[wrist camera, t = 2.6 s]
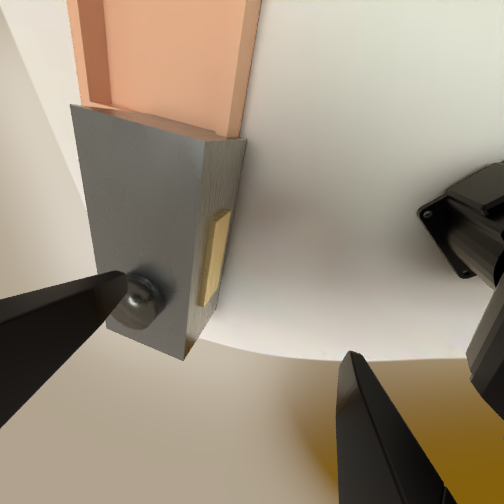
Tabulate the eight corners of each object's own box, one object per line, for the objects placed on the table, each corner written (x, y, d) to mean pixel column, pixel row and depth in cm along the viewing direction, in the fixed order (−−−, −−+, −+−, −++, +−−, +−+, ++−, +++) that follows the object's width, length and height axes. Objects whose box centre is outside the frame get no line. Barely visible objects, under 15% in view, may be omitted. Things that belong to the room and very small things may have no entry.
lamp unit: (153, 114, 18) (37, 100, 11) (252, 140, 17) (196, 144, 10) (154, 285, 27) (91, 341, 20) (218, 310, 26) (177, 379, 19)
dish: (276, -89, 12) (265, -139, 10) (236, 149, 18) (224, 151, 15) (88, -111, 13) (44, -158, 11) (109, 114, 19) (82, 111, 17)
